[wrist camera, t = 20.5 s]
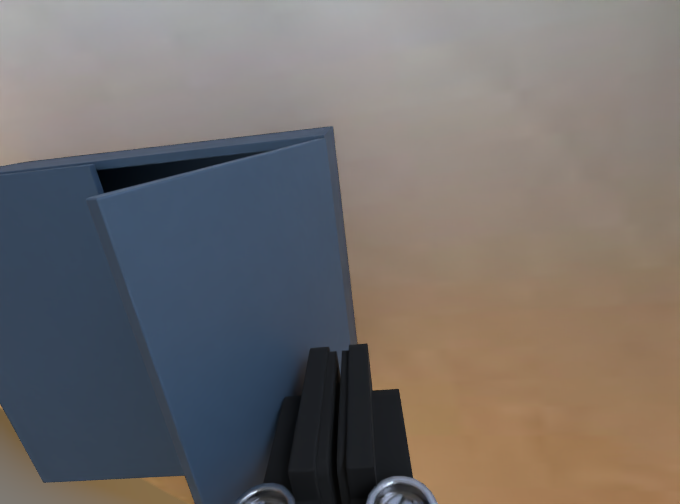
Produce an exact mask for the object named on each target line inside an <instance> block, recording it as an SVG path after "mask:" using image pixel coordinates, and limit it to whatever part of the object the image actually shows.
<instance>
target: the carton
mask: <svg viewBox="0 0 680 504" xmlns="http://www.w3.org/2000/svg"><path fill="white" fill-rule="evenodd" d="M321 138H325V139H326V144H327V153H328V161H329V169H330V178H331V186H332V194H333V203H334V211H335V219H336V227H337V236H338V244H339V252H340V261H341V269H342V277H343V286H344V294H345V302H346V310H347V319H348V327H349V335H350V344H351V345H356V344H357V336H356V327H355V318H354V309H353V300H352V291H351V282H350V274H349V265H348V256H347V247H346V238H345V229H344V220H343V211H342V203H341V194H340V185H339V176H338V167H337V158H336V149H335V141H334V132H333V126H330V127H322V128H313V129H305V130H296V131H287V132H279V133H270V134H262V135H253V136H245V137H236V138H227V139H219V140H210V141H202V142H193V143H184V144H176V145H167V146H159V147H150V148H141V149H133V150H124V151H116V152H107V153H98V154H90V155H81V156H73V157H64V158H55V159H47V160H38V161H30V162H23V163H17V164H11V165H6V166H0V404H1V406H2V408H3V410H4V412H5V413H6V415H7V417H8V419H9V420H10V422H11V424H12V426H13V428H14V430H15V432H16V433H17V435H18V437H19V439H20V441H21V442H22V444H23V446H24V448H25V450H26V452H27V453H28V455H29V457H30V459H31V460H32V462H33V464H34V466H35V468H36V470H37V472H38V473H39V475H40V477H41V479H42V481H43V482H44V483H46V482H66V481H86V480H104V479H105V480H106V479H125V478H146V477H166V476H185V475H184V472H183V469H182V466H181V464H180V461H179V458H178V455H177V453H176V450H175V447H174V444H173V441H172V439H171V436H170V433H169V430H168V428H167V425H166V422H165V419H164V416H163V414H162V411H161V408H160V405H159V402H158V400H157V397H156V394H155V391H154V389H153V386H152V383H151V380H150V377H149V375H148V372H147V369H146V366H145V363H144V361H143V358H142V355H141V352H140V350H139V347H138V344H137V341H136V338H135V336H134V333H133V330H132V327H131V325H130V322H129V319H128V316H127V313H126V311H125V308H124V305H123V302H122V299H121V297H120V294H119V291H118V288H117V286H116V283H115V280H114V277H113V274H112V272H111V269H110V266H109V263H108V261H107V258H106V255H105V252H104V249H103V247H102V244H101V241H100V238H99V235H98V233H97V230H96V227H95V224H94V222H93V219H92V216H91V213H90V210H89V208H88V205H87V202H86V199H87V198H88V197H92V196H96V195H100V194H104V193H108V192H112V191H116V190H119V189H123V188H127V187H131V186H135V185H139V184H143V183H147V182H151V181H155V180H159V179H163V178H166V177H170V176H174V175H178V174H182V173H186V172H190V171H194V170H198V169H202V168H206V167H209V166H213V165H217V164H221V163H225V162H229V161H233V160H237V159H241V158H245V157H249V156H252V155H256V154H260V153H264V152H268V151H272V150H276V149H280V148H284V147H288V146H292V145H295V144H299V143H303V142H307V141H311V140H315V139H321Z"/></svg>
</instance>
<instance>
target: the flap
mask: <svg viewBox="0 0 680 504" xmlns="http://www.w3.org/2000/svg"><path fill="white" fill-rule="evenodd" d="M86 202H87V205H88V208H89V210H90V213H91V216H92V219H93V222H94V224H95V227H96V230H97V233H98V235H99V238H100V241H101V244H102V247H103V249H104V252H105V255H106V258H107V261H108V263H109V266H110V269H111V272H112V274H113V277H114V280H115V283H116V286H117V288H118V291H119V294H120V297H121V299H122V302H123V305H124V308H125V311H126V313H127V316H128V319H129V322H130V325H131V327H132V330H133V333H134V336H135V338H136V341H137V344H138V347H139V350H140V352H141V355H142V358H143V361H144V363H145V366H146V369H147V372H148V375H149V377H150V380H151V383H152V386H153V389H154V391H155V394H156V397H157V400H158V402H159V405H160V408H161V411H162V414H163V416H164V419H165V422H166V425H167V428H168V430H169V433H170V436H171V439H172V441H173V444H174V447H175V450H176V453H177V455H178V458H179V461H180V464H181V466H182V469H183V472H184V475H185V478H186V480H187V483H188V486H189V489H190V492H191V494H192V497H193V500H194V503H195V504H233V503H234V502H235V501H236V500H237V499H238V498H239V497H240V496H241V495H242V493H244V492H245V491H247V490H248V489H250V488H251V487H253V486H256V485H259V484H262V483H263V482H264V478H265V474H266V469H267V465H268V461H269V457H270V453H271V449H272V444H273V440H274V436H275V432H276V428H277V424H278V419H279V415H280V411H281V407H282V403H283V400H284V398H285V397H289V396H301V394H302V389H303V383H304V378H305V372H306V367H307V361H308V356H309V350H310V348H317V347H329V348H330V352H331V351H337V356H338V363H339V370H340V377H341V358H342V351H344V350H349V345H351V344H350V335H349V327H348V319H347V310H346V302H345V294H344V286H343V277H342V269H341V261H340V252H339V244H338V236H337V227H336V219H335V211H334V203H333V194H332V186H331V178H330V169H329V161H328V153H327V144H326V139H325V138H321V139H315V140H311V141H307V142H303V143H299V144H295V145H292V146H288V147H284V148H280V149H276V150H272V151H268V152H264V153H260V154H256V155H252V156H249V157H245V158H241V159H237V160H233V161H229V162H225V163H221V164H217V165H213V166H209V167H206V168H202V169H198V170H194V171H190V172H186V173H182V174H178V175H174V176H170V177H166V178H163V179H159V180H155V181H151V182H147V183H143V184H139V185H135V186H131V187H127V188H123V189H119V190H116V191H112V192H108V193H104V194H100V195H96V196H92V197H88V198H87V199H86Z"/></svg>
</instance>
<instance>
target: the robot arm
mask: <svg viewBox="0 0 680 504" xmlns="http://www.w3.org/2000/svg"><path fill="white" fill-rule="evenodd" d="M233 504H438V503H437V501H436V499H435V497H434V496H433V494H432V492H431V491H430V490H429V489H428V488H427V487H426V486H425V485H424V484H423V483H421V482H419V481H418V480H416V479H414V478H413V475H412V469H411V462H410V456H409V450H408V444H407V437H406V431H405V425H404V418H403V412H402V406H401V399H400V393H399V389H391V390H376V391H373V390H372V381H371V372H370V362H369V353H368V344H356V345H349V350H344V351H342V358H341V377H340V370H339V363H338V356H337V351H331V352H330V348H329V347H317V348H310V350H309V356H308V361H307V367H306V372H305V378H304V383H303V389H302V394H301V396H289V397H285V398H284V400H283V403H282V407H281V411H280V415H279V419H278V424H277V428H276V432H275V436H274V440H273V444H272V449H271V453H270V457H269V461H268V465H267V469H266V474H265V478H264V482H263V483H262V484H259V485H256V486H253V487H251V488H250V489H248V490H247V491H245V492H244V493H242V495H241V496H240V497H239V498H238V499H237V500H236V501H235V502H234V503H233Z"/></svg>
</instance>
